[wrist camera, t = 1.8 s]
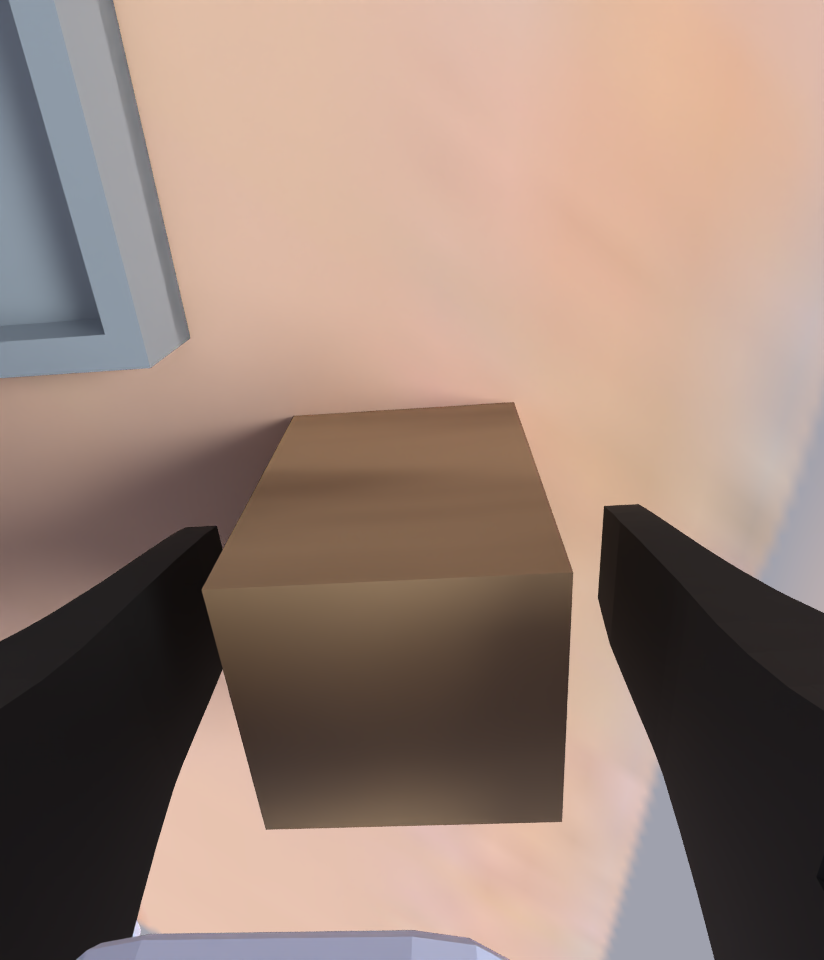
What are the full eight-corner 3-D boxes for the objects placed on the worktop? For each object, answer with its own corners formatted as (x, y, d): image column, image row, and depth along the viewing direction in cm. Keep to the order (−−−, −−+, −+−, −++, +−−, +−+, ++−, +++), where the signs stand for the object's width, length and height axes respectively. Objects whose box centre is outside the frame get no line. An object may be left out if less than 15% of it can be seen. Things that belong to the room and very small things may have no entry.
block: (514, 584, 15) (562, 822, 10) (323, 593, 15) (265, 829, 10) (513, 402, 13) (573, 572, 8) (294, 415, 13) (201, 589, 8)
